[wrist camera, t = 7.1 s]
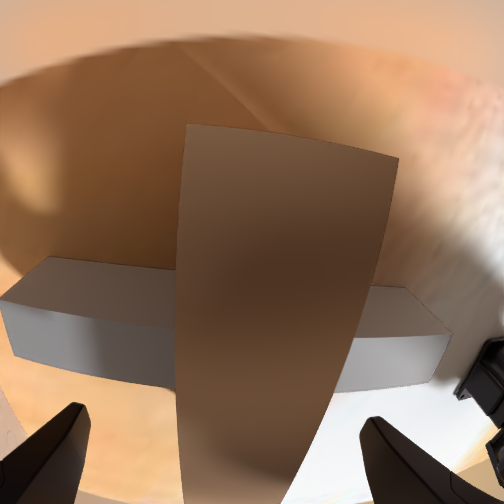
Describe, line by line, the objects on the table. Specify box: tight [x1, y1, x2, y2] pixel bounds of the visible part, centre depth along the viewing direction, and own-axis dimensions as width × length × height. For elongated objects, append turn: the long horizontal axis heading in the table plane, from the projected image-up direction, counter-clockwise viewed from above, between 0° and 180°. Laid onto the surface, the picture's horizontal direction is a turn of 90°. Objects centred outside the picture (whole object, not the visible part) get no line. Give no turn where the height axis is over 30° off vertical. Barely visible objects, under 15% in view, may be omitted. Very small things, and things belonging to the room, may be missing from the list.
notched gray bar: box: [0, 256, 452, 393], centre depth 14 cm, size 20×3×5 cm, turn 83°
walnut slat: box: [175, 124, 399, 504], centre depth 11 cm, size 16×3×10 cm, turn 173°
